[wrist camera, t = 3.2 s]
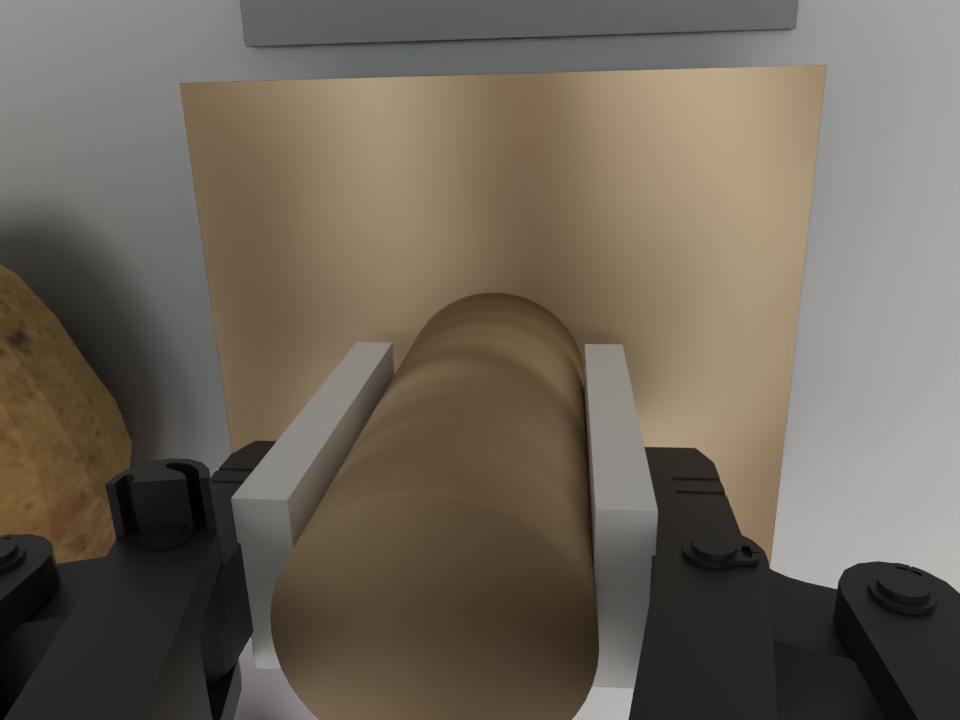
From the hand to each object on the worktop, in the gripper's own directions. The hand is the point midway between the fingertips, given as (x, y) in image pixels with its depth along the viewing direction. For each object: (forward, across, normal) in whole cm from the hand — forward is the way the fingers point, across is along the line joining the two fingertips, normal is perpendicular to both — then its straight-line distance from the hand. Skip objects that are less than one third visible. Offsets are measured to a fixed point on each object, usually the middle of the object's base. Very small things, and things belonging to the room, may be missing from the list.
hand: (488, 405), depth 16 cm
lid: (+3, 0, 0) cm, 3 cm away
